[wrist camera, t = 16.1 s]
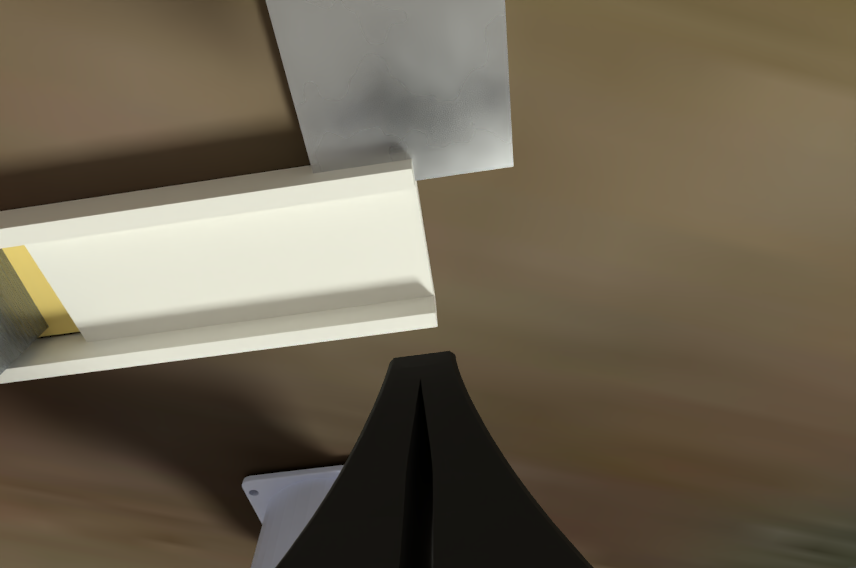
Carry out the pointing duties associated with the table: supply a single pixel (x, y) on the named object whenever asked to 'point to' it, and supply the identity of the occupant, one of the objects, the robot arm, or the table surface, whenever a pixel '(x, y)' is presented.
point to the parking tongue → (398, 82)
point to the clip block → (16, 315)
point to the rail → (221, 267)
